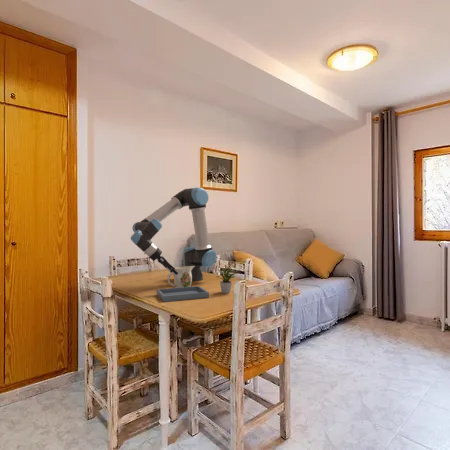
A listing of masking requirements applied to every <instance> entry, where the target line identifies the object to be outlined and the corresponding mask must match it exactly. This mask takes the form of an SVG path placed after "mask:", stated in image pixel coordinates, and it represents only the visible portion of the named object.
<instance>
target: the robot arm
mask: <svg viewBox="0 0 450 450" xmlns="http://www.w3.org/2000/svg"><path fill="white" fill-rule="evenodd" d="M208 201H209V194H208V192H207V191H206V190H205V189H204V188H203V187H191V188H184V189H183V190H181V191H179V192H178V193H176V194H175V195H173V196H172V197H171V198H170V200H169V201H168V202H166V203H165V204H163V205H162V206H160V207H159V208H158V209H156V210H155V211H153V212H151V214H149V215H148V216H147V217H145V218H143V219H142V220H141V221H137V222H134V223H133V225H132V231H133V234H131V235H130V240H131V242H132V243H133V244H134V245H136V247H138V248H139V250H141V251H142V252H143V255H147V256H148V257H149V258H150V259H151V261H153V262H154V261H157V262H158V263H159V264H160V265H162V266H163V268H164V269H166V270H167V271H168V272H170V273H171V272H172V273H173V274H174V275H175V276H176V277H177V278H178V279H180V278H181V277H182V275H181V274H180V273H179V272H178V271H177V270H176V269H175V268H176V267H174V266H173V265H172V264H170V263H169V262H168V260H167V259H166V258H165V257H164V256H163V255H162V254H163V252H162V250H161V249H160V248H159V247H158V246H157V245H156V244H155V243H154V242H153V241H152V239H153V238H154V237H155V236H156V234H158V233H159V232H160V230H161V229H162V228H163V225H162V223H161V222H163V220H165V219H166V218H167V217H169V216H170V215H172V214H173V213H174V212H175V211H177V210H181V209H182V208H184V207H187V206H188V210H189V211H191V215H192V223H193V229H194V237H195V242H196V246H193V247H191V246H190V247H186V248H185V247H184V250H183V251H184V252H183V263H184V266H195V267H194V268H193V269H192V271H191V274H192V282H196V281H197V282H198V281H202V280H203V279H204V275H203V272H202V269H201V267H203V268H210V267H213V266H214V265H215V263H216V261H217V258H218V257H217V252H216V251H215V250H213V246H212V244H210V239H209V232H208V227H207V226H208V225H207V220H206V212H205V209H206V208H207V203H208ZM184 266H183V267H184ZM173 274H172V275H173ZM174 275H173V276H174Z"/></svg>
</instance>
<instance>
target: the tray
mask: <svg viewBox="0 0 450 450" xmlns="http://www.w3.org/2000/svg"><path fill="white" fill-rule="evenodd" d="M156 295H157V296H158V298H160V300H161V301H162V302H163V303H167V302H178V301H180V302H181V301H188V300H190V301H191V300H199V299H208V298H210V292H209V291H208V290H206V289H205V288H203V287H201V286H200V285H196V286H194V285H193V286H190V287H180V288H176V287H171V288H160V289H159V288H158V289H156Z"/></svg>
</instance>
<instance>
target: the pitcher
mask: <svg viewBox="0 0 450 450" xmlns="http://www.w3.org/2000/svg"><path fill="white" fill-rule="evenodd" d="M194 267H195V266H177V267H174V268H175V269H176V270H177V271H178V272H179V273H180V274H181V275H182V277H181V278H180V279H178V278H177V277H176V276H175V275H174V274H173V273H172V272H171V273H168V274H167V282H168V284H169V286H172V287H173V288H180V287H192V286H191V285H192V282H193V281H192V274H191V271H192V269H193V268H194ZM171 276H173V283H172V282H171V280H170V278H171Z"/></svg>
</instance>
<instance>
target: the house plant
mask: <svg viewBox="0 0 450 450" xmlns="http://www.w3.org/2000/svg"><path fill="white" fill-rule="evenodd" d="M220 268H221V269H220ZM214 269H216V270H217V271H218V272H219V275H217V276H216V278H220V279H221V280H220V281H219V283H220V284H219V285H220V291H221V294H230V293H231V291H232V290H231V289H232V285H233V284H232V283H233V281H231V279H235V278H236V275H237V274H238V273H237V272H234V273H232V272H233V271H234V269H232V266H230V267H229V268H228V269H227V266H225V268H224V267H223V268H222V267H219V268H218V267H217V268H216V267H215V268H214ZM231 269H232V270H231ZM221 270H222V271H221ZM234 275H235V276H234Z"/></svg>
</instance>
